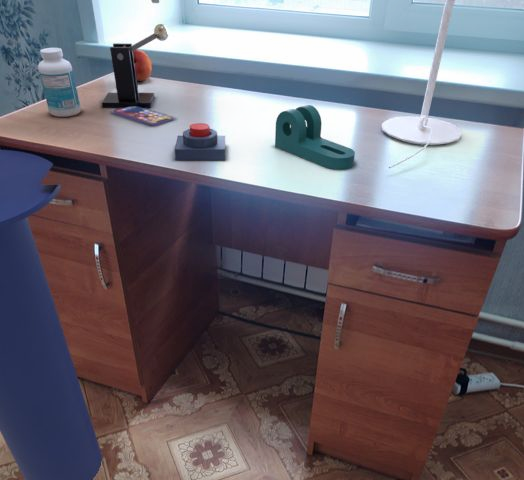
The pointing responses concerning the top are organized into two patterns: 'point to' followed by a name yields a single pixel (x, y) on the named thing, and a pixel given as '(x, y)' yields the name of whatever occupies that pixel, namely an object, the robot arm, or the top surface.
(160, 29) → the lever
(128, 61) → the bracket
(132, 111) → the smartphone
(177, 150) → the button box
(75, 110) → the pill bottle
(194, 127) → the button
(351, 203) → the top surface
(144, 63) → the fruit
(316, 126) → the bracket
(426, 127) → the desk lamp
